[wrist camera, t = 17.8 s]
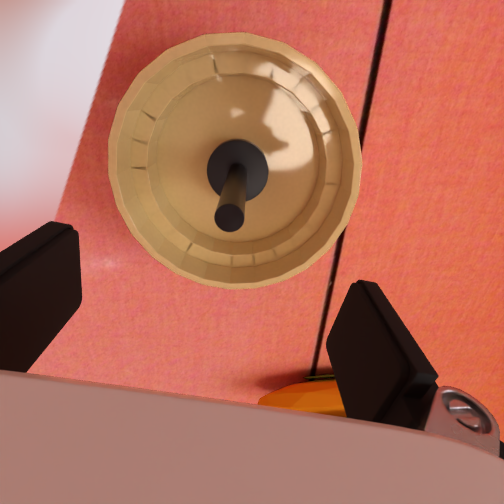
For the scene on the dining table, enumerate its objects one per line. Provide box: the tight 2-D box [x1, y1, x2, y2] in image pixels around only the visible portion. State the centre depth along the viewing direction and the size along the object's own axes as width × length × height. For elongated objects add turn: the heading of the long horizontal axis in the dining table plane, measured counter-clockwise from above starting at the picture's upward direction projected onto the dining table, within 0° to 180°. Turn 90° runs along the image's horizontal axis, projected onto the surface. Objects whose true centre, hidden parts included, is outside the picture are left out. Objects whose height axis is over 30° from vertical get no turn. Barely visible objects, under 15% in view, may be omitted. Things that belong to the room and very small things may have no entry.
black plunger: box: [207, 139, 269, 232], centre depth 24 cm, size 6×6×14 cm
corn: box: [257, 375, 347, 418], centre depth 42 cm, size 7×8×20 cm
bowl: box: [108, 32, 362, 289], centre depth 28 cm, size 20×20×7 cm
